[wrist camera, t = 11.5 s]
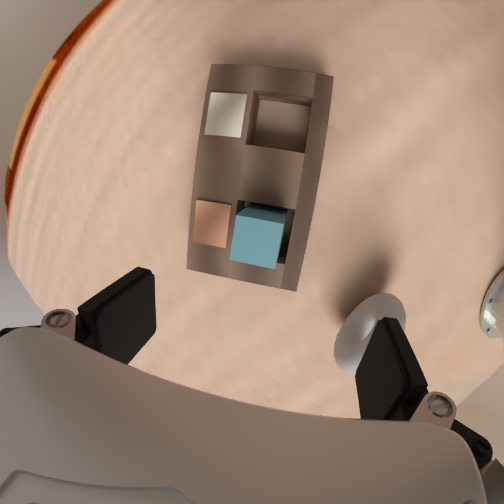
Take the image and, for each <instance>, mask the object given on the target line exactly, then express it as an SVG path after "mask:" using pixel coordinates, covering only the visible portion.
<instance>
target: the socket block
mask: <svg viewBox="0 0 504 504" xmlns="http://www.w3.org/2000/svg"><path fill="white" fill-rule="evenodd" d="M333 78H334V76H329V75H323V74H318V73H312V72H306V71H300V70H293V69H285V68H276V67H266V66H252V65H231V64H211V69H210V75H209V80H208V85H207V91H206V97H205V103H204V109H203V115H202V122H201V128H200V135H199V142H198V150H197V157H196V166H195V174H194V183H193V192H192V202H191V213H190V225H189V238H188V252H187V269H190V270H194V271H199V272H203V273H208V274H212V275H217V276H222V277H226V278H231V279H236V280H241V281H246V282H251V283H255V284H260V285H265V286H270V287H275V288H281V289H286V290H291V291H296V290H297V286H298V281H299V277H300V272H301V268H302V263H303V259H304V254H305V250H306V245H307V240H308V235H309V230H310V225H311V220H312V215H313V210H314V204H315V199H316V194H317V188H318V182H319V177H320V171H321V165H322V159H323V152H324V146H325V139H326V132H327V125H328V118H329V111H330V103H331V95H332V87H333ZM260 100H269V101H278V102H285V103H292V104H298V105H304V106H310V107H311V111H310V119H309V125H308V132H307V139H306V145H305V152H304V153H299V152H293V151H287V150H281V149H275V148H268V147H261V146H253V140H254V134H255V127H256V121H257V114H258V107H259V101H260ZM245 201H250V202H256V203H261V204H267V205H273V206H279V207H284V208H289V209H295V211H294V217H293V223H292V228H291V233H290V239H289V244H288V249H287V252H283V251H279V255H278V259H277V263H276V267H275V269H271V268H266V267H262V266H257V265H252V264H247V263H243V262H238V261H233V260H230V254H231V246H232V239H233V232H234V225H235V218H236V215H237V214H238V213H239V212H240V211H242V210H243V209H244V203H245Z"/></svg>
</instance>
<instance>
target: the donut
mask: <svg viewBox="0 0 504 504" xmlns="http://www.w3.org/2000/svg"><path fill="white" fill-rule="evenodd" d="M383 317H390V318H397V319H398V321H399V323H400V325H401V327H402V329H403V331H404V329H405V322H406V314H405V310H404V307H403V304H402V302H401V301H400V300H399V299H398V298H397V297H395V296H394V295H392V294H388V293H378V294H375V295H372V296H370V297H368V298H367V299H365V300H364V301H362V302H361V303H360V304H359V305H358V306H357V307H356V308H355V309H354V310H353V311H352V312H351V313H350V315H349V316H348V317H347V319H346V320H345V322H344V323H343V325H342V327H341V329H340V331H339V333H338V335H337V338H336V341H335V344H334V357H335V360H336V363H337V365H338V366H339V367H340V368H341V369H342V370H343V371H345V372H346V373H348V374H356V370H357V367H358V365H359V363H360V361H361V359H362V357H363V354H364V352H365V350H366V347H367V345H368V343H369V340H370V338H371V336H372V333H373V331H374V328H375V326H376V323H377V321H378V320H382V318H383ZM371 329H372V330H371ZM370 330H371V331H370ZM369 331H370V333H369V334H368V332H369ZM367 334H368V335H367ZM366 335H367V337H366ZM365 337H366V338H365Z"/></svg>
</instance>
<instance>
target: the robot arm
mask: <svg viewBox="0 0 504 504" xmlns="http://www.w3.org/2000/svg"><path fill="white" fill-rule="evenodd" d="M78 313H79V314H78V315H76V316H75V314H74V313H73V312H72V311H70V310H67V309H56V310H53V311H50V312H49V313H47V314H46V315H45V316H44V317H43V319H42V322H41V325H39V326H27V327H16V328H4V329H2V330H1V331H0V504H504V467H503V465H502V464H501V463H500V462H499V461H498V460H497V459H496V458H495V459H494V460H492V459H491V458H492V454H493V452H492V447H491V444H490V443H489V442H488V440H486V439H485V438H484V437H482V436H481V435H479V434H478V433H476V432H474V431H473V430H471V429H470V428H468V427H466V426H465V425H463V424H462V423H460V422H459V421H457V420H455V419H454V418H455V416H456V411H457V410H456V405H455V403H454V401H453V400H452V399H451V398H450V397H449V396H447V395H446V394H443V393H441V392H436V391H435V392H430V393H429V392H428V390H427V386H428V384H427V381H426V379H425V377H424V374H423V372H422V370H421V367H420V365H419V363H418V361H417V358H416V356H415V354H414V352H413V350H412V348H411V346H410V343H409V341H408V339H407V337H406V335H405V333H404V331H403V329H402V327H401V325H400V323H399V321H398V319H397V318H390V317H383V318H382V320H378V321H377V323H376V326H375V328H374V331H373V333H372V336H371V338H370V340H369V343H368V345H367V347H366V350H365V352H364V354H363V357H362V359H361V361H360V363H359V365H358V367H357V370H356V374H355V379H356V386H357V393H358V400H359V408H360V416H361V419H354V418H341V417H330V416H321V415H313V414H306V413H299V412H293V411H287V410H281V409H275V408H270V407H265V406H260V405H255V404H251V403H246V402H242V401H238V400H234V399H230V398H226V397H222V396H218V395H214V394H211V393H207V392H204V391H200V390H197V389H194V388H190V387H187V386H184V385H181V384H178V383H175V382H172V381H169V380H166V379H163V378H160V377H158V376H155V375H152V374H149V373H147V372H144V371H142V370H139V369H137V368H134V367H132V366H129V365H128V363H129V362H130V361H131V360H132V359H133V358H134V356H135V355H136V354H137V353H138V352H139V351H140V349H141V348H142V347H143V346H144V345H145V344H146V343H147V341H148V340H149V339H150V338H151V337H152V336H153V335H154V333H155V331H156V308H155V277H154V274H152V272H151V270H149V269H145V268H141V267H137V268H135V269H133V270H132V271H130V272H129V273H127V274H126V275H124V276H123V277H121V278H120V279H118V280H117V281H115V282H114V283H112V284H111V285H109V286H108V287H106V288H105V289H103V290H102V291H101V292H99V293H98V294H96V295H95V296H93V297H92V298H90V299H89V300H88V301H86V302H85V303H83V304H82V305H80V306H79V307H78ZM480 325H481V328H482V330H483V332H484V333H485V334H486V335H487V336H488V337H490V338H499V337H501V338H502V339H503V340H504V270H503V271H502V272H500V274H499V275H498V276H497V277H496V278H495V280H494V281H493V283H492V284H491V286H490V288H489V289H488V291H487V294H486V296H485V298H484V301H483V304H482V308H481V313H480Z"/></svg>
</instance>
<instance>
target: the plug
mask: <svg viewBox="0 0 504 504" xmlns="http://www.w3.org/2000/svg"><path fill="white" fill-rule="evenodd" d="M287 212H288V209H284V208H279V207H274V206H269V205H263V204H258V203H251V204H250V205H248V206H247V207H246V208H244V209H243V210H242V211H240V212H239V213H238V214H237V215H236V218H235V225H234V232H233V239H232V246H231V254H230V260H233V261H238V262H243V263H247V264H252V265H257V266H262V267H266V268H271V269H275V267H276V263H277V259H278V255H279V251H280V247H281V243H282V238H283V233H284V228H285V222H286V217H287Z"/></svg>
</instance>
